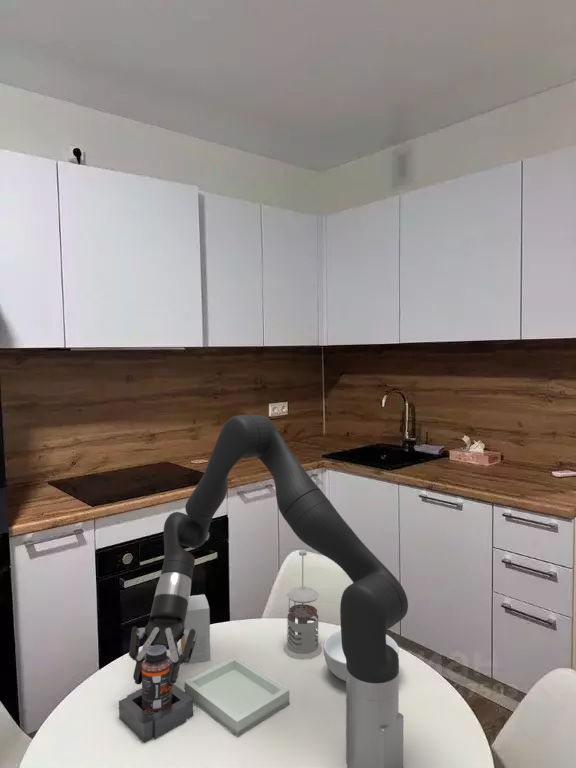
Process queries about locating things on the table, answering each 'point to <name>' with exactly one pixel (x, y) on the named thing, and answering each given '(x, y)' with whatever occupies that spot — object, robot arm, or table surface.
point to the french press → (302, 623)
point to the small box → (198, 628)
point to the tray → (237, 695)
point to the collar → (159, 721)
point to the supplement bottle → (156, 679)
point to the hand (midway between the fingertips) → (153, 683)
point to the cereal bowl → (342, 653)
